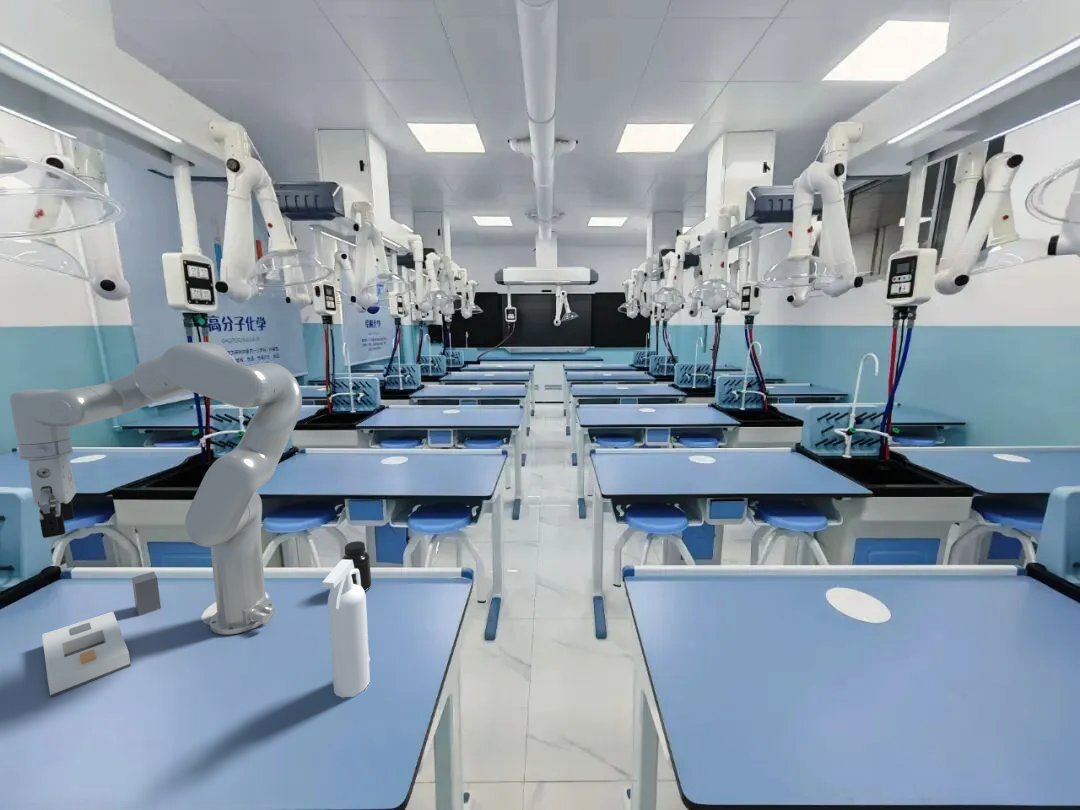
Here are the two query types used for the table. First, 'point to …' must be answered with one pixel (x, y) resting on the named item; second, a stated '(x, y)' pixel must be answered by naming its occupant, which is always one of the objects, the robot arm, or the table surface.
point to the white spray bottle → (348, 630)
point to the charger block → (146, 593)
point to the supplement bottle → (359, 562)
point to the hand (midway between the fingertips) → (59, 527)
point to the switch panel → (84, 653)
